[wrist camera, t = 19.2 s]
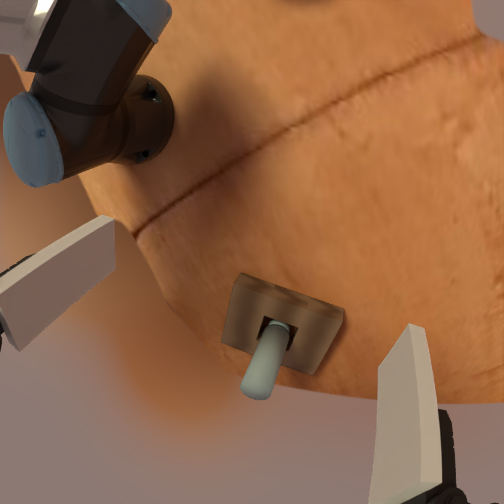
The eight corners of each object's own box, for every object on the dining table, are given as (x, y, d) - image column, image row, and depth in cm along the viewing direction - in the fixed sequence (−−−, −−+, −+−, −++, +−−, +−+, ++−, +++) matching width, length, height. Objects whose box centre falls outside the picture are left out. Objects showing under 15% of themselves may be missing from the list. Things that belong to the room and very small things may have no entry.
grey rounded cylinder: (266, 325, 54) (237, 393, 41) (272, 308, 52) (243, 376, 38) (289, 333, 54) (266, 403, 40) (296, 316, 51) (274, 387, 38)
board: (227, 330, 58) (220, 342, 55) (241, 272, 51) (233, 283, 48) (315, 362, 55) (312, 375, 52) (344, 308, 48) (342, 321, 45)
